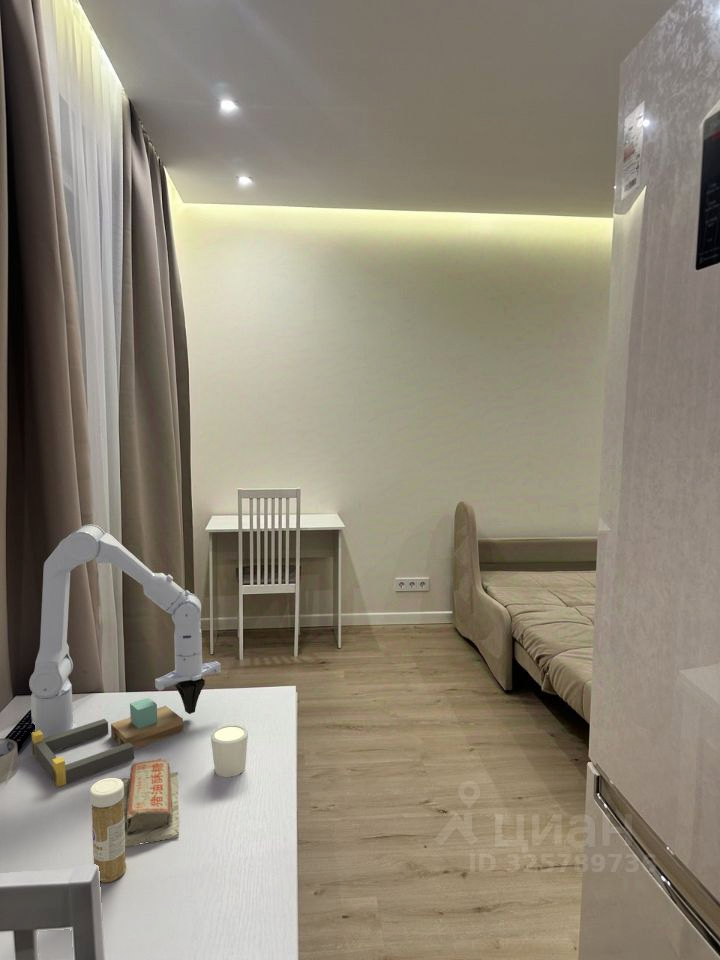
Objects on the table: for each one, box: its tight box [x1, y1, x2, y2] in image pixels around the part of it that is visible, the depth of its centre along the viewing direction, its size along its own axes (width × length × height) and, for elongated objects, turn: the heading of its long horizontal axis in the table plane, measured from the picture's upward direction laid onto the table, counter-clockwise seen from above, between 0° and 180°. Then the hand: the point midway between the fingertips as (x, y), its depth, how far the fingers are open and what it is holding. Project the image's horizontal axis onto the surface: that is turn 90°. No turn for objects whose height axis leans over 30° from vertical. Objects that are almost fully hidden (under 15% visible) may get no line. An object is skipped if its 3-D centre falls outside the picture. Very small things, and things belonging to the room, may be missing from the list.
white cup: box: [210, 724, 249, 778], centre depth 118 cm, size 7×7×7 cm
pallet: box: [110, 705, 184, 750], centre depth 131 cm, size 8×12×3 cm, turn 132°
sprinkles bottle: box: [89, 777, 127, 883], centre depth 91 cm, size 5×5×14 cm
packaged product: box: [120, 758, 180, 847], centre depth 106 cm, size 18×5×10 cm
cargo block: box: [129, 697, 158, 729], centre depth 130 cm, size 4×4×4 cm
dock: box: [31, 718, 135, 788], centre depth 122 cm, size 15×14×4 cm
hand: (189, 711), depth 138 cm, fingers closed
